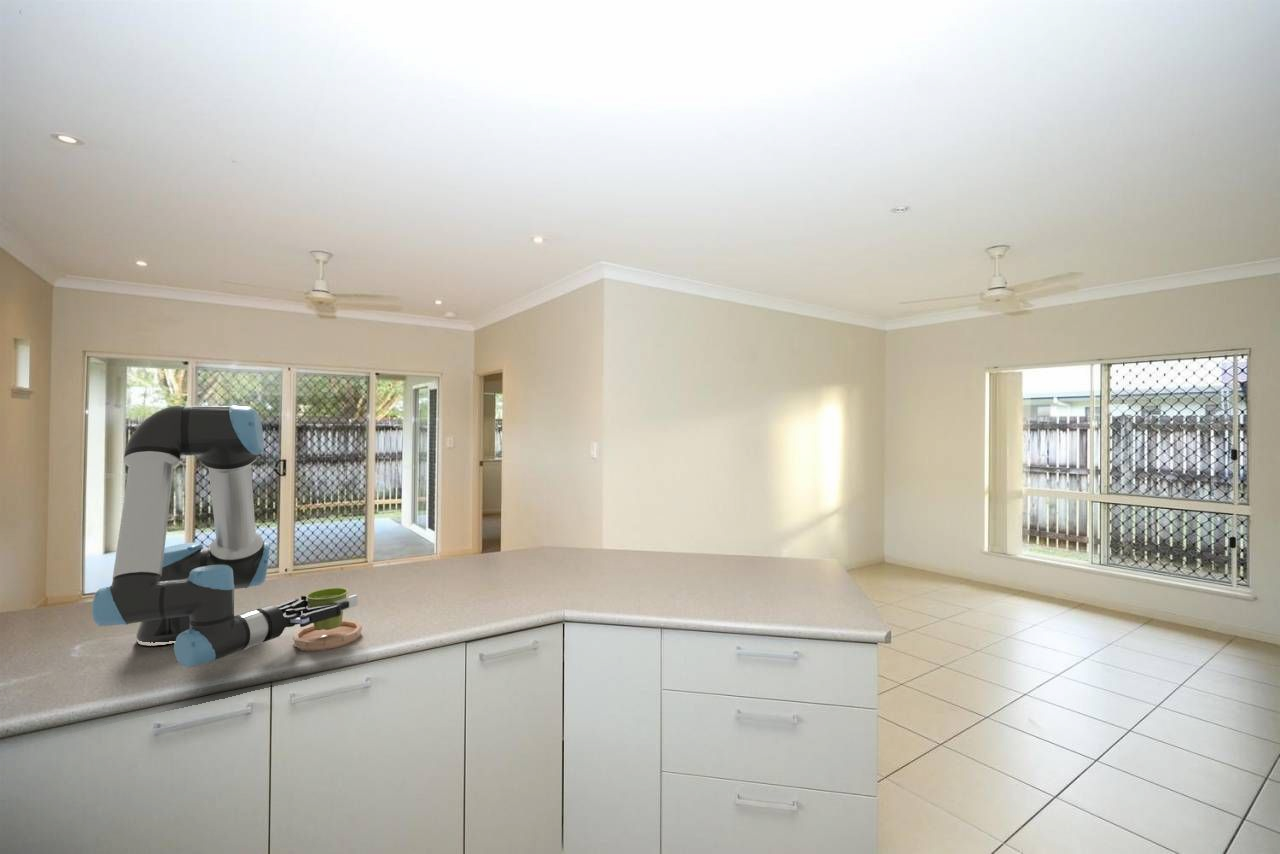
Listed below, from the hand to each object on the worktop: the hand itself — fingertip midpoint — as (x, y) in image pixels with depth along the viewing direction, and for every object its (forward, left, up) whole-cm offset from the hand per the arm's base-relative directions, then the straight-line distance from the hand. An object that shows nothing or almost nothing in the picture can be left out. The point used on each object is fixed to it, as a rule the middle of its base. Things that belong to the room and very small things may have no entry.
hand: (343, 598), depth 151 cm
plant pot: (0, -5, -6) cm, 8 cm away
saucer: (0, -5, -9) cm, 10 cm away
